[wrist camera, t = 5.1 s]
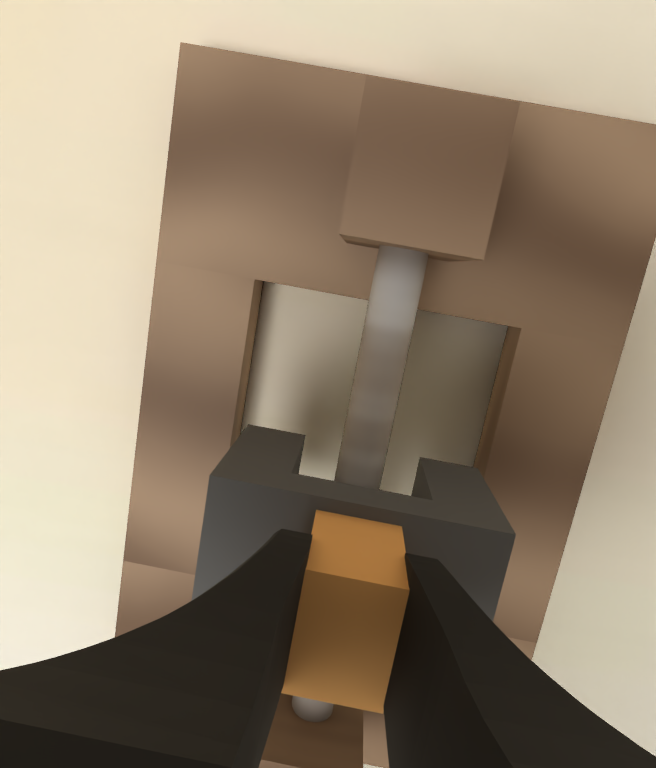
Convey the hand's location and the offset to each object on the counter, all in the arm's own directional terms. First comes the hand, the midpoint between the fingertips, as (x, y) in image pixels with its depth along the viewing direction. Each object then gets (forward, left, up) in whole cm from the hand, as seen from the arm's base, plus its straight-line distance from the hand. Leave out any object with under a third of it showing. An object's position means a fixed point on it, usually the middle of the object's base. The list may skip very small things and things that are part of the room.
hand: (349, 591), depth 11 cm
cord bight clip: (0, 0, -5) cm, 5 cm away
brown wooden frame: (0, 0, -9) cm, 9 cm away
